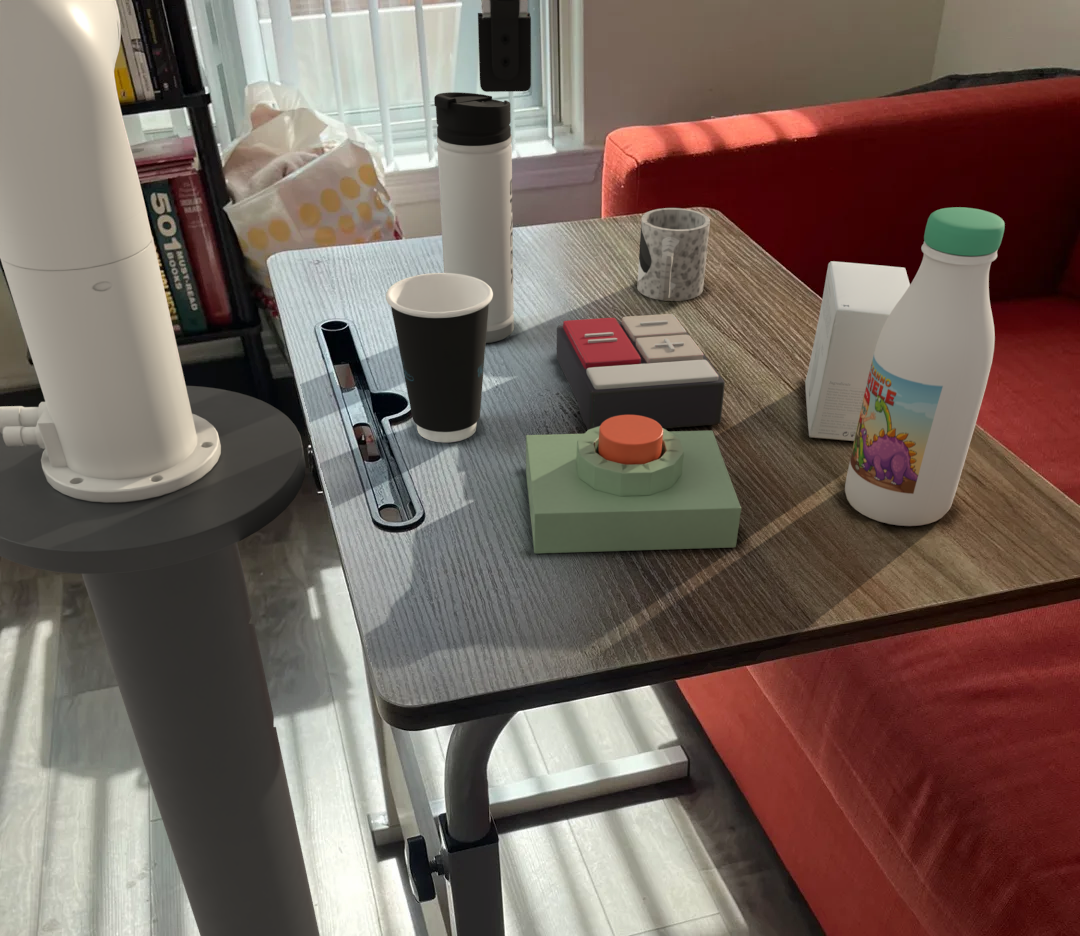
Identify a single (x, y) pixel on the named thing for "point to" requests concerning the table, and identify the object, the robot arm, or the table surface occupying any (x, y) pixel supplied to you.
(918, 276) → the milk bottle
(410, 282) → the dixie cup
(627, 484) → the button housing
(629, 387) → the calculator
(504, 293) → the travel mug
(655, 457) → the push button
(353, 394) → the table surface
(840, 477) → the table surface
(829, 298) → the cosmetics box
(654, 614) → the table surface
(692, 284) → the mug
